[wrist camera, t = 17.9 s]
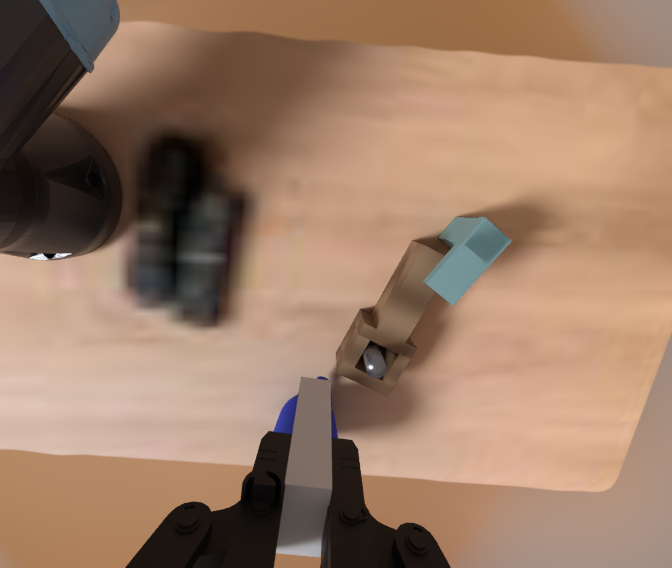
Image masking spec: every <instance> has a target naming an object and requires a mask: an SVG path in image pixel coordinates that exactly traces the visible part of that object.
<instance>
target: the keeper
mask: <svg viewBox="0 0 672 568" xmlns="http://www.w3.org/2000/svg"><path fill="white" fill-rule="evenodd" d="M438 238H439V239H440V240H442V241H443V242H444V243H445V244H446V245H447V246H448V247H450V248H451V250H450V251H449V252H448V253H447V254H446V255H445V256H444V258H443V259H442V260H441V261H440V262H439V263H438V264H437V265H436V267H435V268H434V269H433V270H432V271H431V272H430V273H429V275H428V276H427V277H426V278H425V279H424V280H423V282H424V283H426V284H427V285H428V286H429V287H431V288H432V289H433V290H434V291H435V292H437V293H438V294H439V295H440V296H441V297H443V298H444V299H445V300H446V301H447V302H449V303H450V304H451V305H454V304H455V303H456V302H457V301H458V300H459V299H460V297H461V296H462V295H463V294H464V293H465V292H466V291H467V290H468V289H469V288H470V286H471V285H472V284H473V283H474V282H475V281H476V280H477V279H478V278H479V277H480V276H481V274H482V273H483V272H484V271H485V270H486V269H487V268H488V267H489V266H490V265H491V263H492V262H493V261H494V260H495V259H496V258H497V257H498V256H499V255H500V254H501V252H502V251H503V250H504V249H505V248H506V247H507V246H508V245H509V244H510V243H511V242H512V241H511V240H510V239H509V238H508V237H507V236H506V235H505V234H504V233H502V232H501V231H500V230H499V229H498V228H497V227H496V226H495V225H494V224H493V223H491V222H490V221H489V220H488V219H487V218H486V217H479V218H468V217H455V219H454V220H453V221H452V222H451V223H450V224H449V225H448V227H447V228H446V229H445V230H444V231H443V232H442V234H441V235H440V236H439V237H438Z"/></svg>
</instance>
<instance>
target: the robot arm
mask: <svg viewBox="0 0 672 568" xmlns="http://www.w3.org/2000/svg"><path fill="white" fill-rule="evenodd" d="M119 22H120V10H119V5H118V2H117V0H0V253H1V254H6V255H12V256H18V257H24V258H30V259H36V260H60V259H66V258H71V257H76V256H80V255H84V254H86V253H89V252H91V251H93V250H95V249H96V248H98V247H99V246H100V245H102V244H103V243H104V242H105V241H106V240H107V239H108V238H109V236H110V235H111V234H112V232H113V230H114V229H115V227H116V225H117V222H118V220H119V216H120V212H121V206H122V192H121V185H120V180H119V177H118V174H117V171H116V168H115V166H114V164H113V162H112V160H111V158H110V156H109V155H108V153H107V152H106V150H105V149H104V148H103V146H102V145H101V144H100V143H99V142H98V141H97V140H96V139H95V137H93V136H92V135H91V134H90V133H89V132H88V131H87V130H85V129H84V128H83V127H81V126H80V125H78V124H76V123H75V122H73V121H71V120H69V119H67V118H65V117H62V116H59V115H56V114H53V111H54V110H55V109H56V108H57V107H58V106H59V104H60V103H61V102H62V101H63V100H64V99H65V97H66V96H67V95H68V94H69V93H70V92H71V90H72V89H73V88H74V87H75V86H76V85H77V83H78V82H79V81H80V80H81V79H82V78H83V76H84V75H85V74H86V73H87V72H89V73H91V72H92V71H93V70H94V61H95V60H96V58H97V57H98V56H99V54H100V53H101V52H102V50H103V49H104V48H105V46H106V45H107V43H108V42H109V41H110V39H111V38H112V37H113V35H114V34H115V32H116V31H117V29H118V26H119ZM276 553H281V554H291V555H302V556H312V557H320V553H321V566H320V568H450V565H449V564H448V562H447V560H446V558H445V556H444V554H443V553H442V551H441V549H440V547H439V545H438V543H437V542H436V540H435V539H434V537H433V536H432V535H431V533H430V532H429V531H427V530H426V529H425V528H424V527H422V526H420V525H418V524H415V523H404V524H402V525H400V526H399V528H398V529H397V530H395V529H393V528H390V527H388V526H386V525H384V524H382V523H380V522H378V521H377V520H376V519H375V518H373V517H372V516H371V514H370V513H369V510H368V509H367V507H366V505H365V502H364V494H363V486H362V478H361V470H360V462H359V454H358V449H357V447H356V446H355V444H354V442H353V441H352V440H347V439H339V438H331V381H330V380H322V379H314V378H306V377H301V382H300V388H299V395H298V401H297V407H296V414H295V420H294V426H293V433H292V434H289V433H281V432H272V431H269V432H268V433H267V434H266V435H265V436H264V437H263V438H262V439H261V442H260V446H259V450H258V453H257V456H256V460H255V463H254V467H253V470H252V472H250V473H249V474H248V475H247V476H246V477H245V479H244V481H243V484H242V493H241V500H240V501H239V502H238V503H236V504H235V505H233V506H231V507H229V508H226V509H222V510H217V511H213V512H211V510H210V509H209V507H208V506H207V505H205V504H203V503H201V502H188V503H184V504H182V505H180V506H178V507H176V508H175V509H174V510H173V511H172V512H171V513H169V515H168V516H167V517H166V518H165V519H164V520H163V522H162V523H161V524H160V525H159V527H158V528H157V529H156V530H155V532H154V533H153V534H152V535H151V537H150V538H149V539H148V540H147V541H146V543H145V544H144V545H143V546H142V548H141V549H140V550H139V551H138V553H137V554H136V555H135V556H134V557H133V559H132V560H131V561H130V562H129V564H128V565H127V566H126V568H274V562H275V555H276Z"/></svg>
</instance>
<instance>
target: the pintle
mask: <svg viewBox="0 0 672 568" xmlns="http://www.w3.org/2000/svg"><path fill="white" fill-rule="evenodd" d="M362 354H363V358H364V362H365V366H366V370H367V373H368V375H369V376H370V377H372V378H380V377H382V376H384V374H385V373H386V370H387V367H386V364H385V361H384V359H383V356H382V353H381V350H380V348H379V345H378V344H377V343H375V342H373V341H371V340H370V341H369V343H368V345H367V346H366V348H365V350H364V352H363V353H362Z"/></svg>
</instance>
